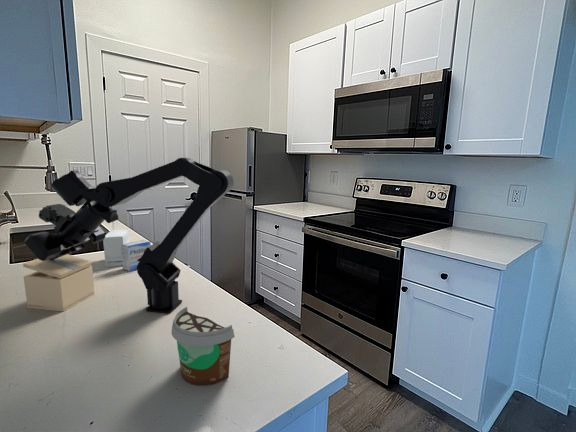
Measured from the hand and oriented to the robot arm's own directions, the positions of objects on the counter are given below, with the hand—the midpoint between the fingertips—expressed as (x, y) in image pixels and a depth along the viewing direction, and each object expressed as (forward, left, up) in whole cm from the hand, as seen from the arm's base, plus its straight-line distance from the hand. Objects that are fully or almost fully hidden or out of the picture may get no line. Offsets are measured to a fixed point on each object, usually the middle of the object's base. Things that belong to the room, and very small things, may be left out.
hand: (50, 258), depth 81 cm
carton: (-2, 0, -11) cm, 11 cm away
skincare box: (+5, -31, -11) cm, 33 cm away
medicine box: (-5, -27, -11) cm, 30 cm away
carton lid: (-2, 0, -2) cm, 3 cm away
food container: (-48, +21, -11) cm, 54 cm away
